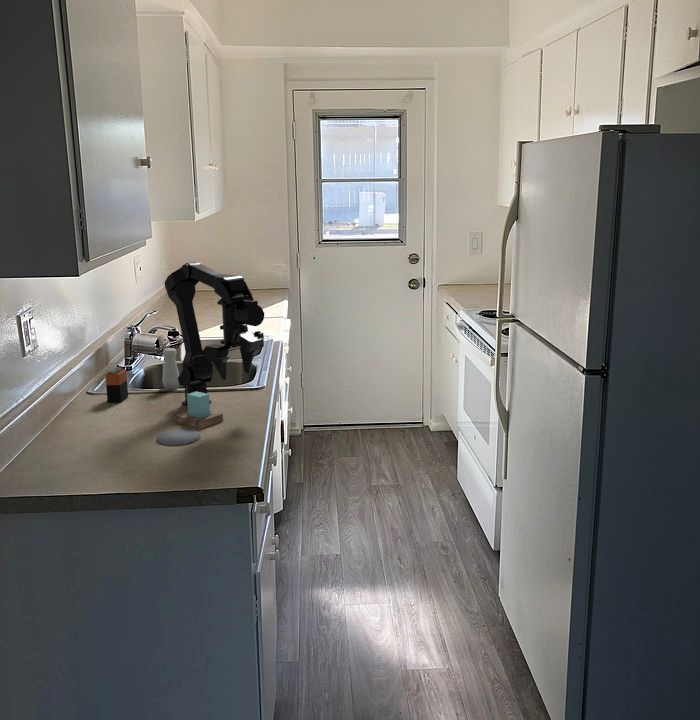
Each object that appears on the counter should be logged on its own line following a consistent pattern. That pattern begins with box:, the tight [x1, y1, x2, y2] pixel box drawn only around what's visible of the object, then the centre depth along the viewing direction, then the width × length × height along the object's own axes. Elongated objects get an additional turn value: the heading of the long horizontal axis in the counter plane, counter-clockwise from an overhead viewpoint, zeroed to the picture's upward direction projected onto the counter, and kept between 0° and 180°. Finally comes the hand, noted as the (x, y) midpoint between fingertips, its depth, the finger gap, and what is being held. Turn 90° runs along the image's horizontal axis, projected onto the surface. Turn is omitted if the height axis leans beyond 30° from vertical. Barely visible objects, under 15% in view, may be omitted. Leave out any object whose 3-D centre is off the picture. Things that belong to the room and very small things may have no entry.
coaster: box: [156, 428, 201, 446], centre depth 198 cm, size 11×11×1 cm
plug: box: [187, 391, 211, 418], centre depth 211 cm, size 5×4×8 cm
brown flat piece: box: [175, 410, 224, 429], centre depth 211 cm, size 10×8×2 cm
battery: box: [104, 366, 129, 404], centre depth 232 cm, size 4×7×10 cm, turn 176°
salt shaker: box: [161, 347, 180, 390], centre depth 245 cm, size 6×6×13 cm
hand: (235, 376), depth 212 cm, fingers open, 9 cm apart
